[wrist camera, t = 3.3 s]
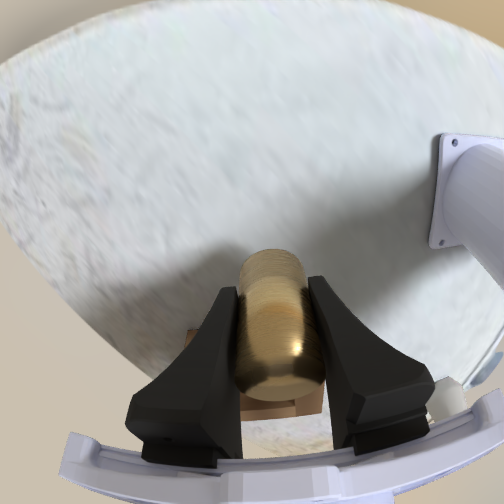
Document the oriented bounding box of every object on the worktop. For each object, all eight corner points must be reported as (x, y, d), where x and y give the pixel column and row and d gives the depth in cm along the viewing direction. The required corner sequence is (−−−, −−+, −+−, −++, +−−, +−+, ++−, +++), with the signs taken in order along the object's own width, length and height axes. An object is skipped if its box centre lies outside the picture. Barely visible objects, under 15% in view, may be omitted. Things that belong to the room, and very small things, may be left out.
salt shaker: (441, 394, 31) (465, 465, 20) (414, 399, 31) (437, 478, 20) (464, 370, 28) (495, 447, 17) (438, 375, 28) (469, 461, 17)
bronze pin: (302, 244, 13) (328, 348, 8) (305, 295, 15) (324, 395, 10) (234, 253, 14) (225, 359, 9) (245, 303, 15) (243, 403, 10)
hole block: (318, 316, 21) (326, 353, 18) (316, 383, 26) (321, 413, 23) (187, 330, 21) (181, 366, 19) (218, 392, 27) (216, 421, 24)
